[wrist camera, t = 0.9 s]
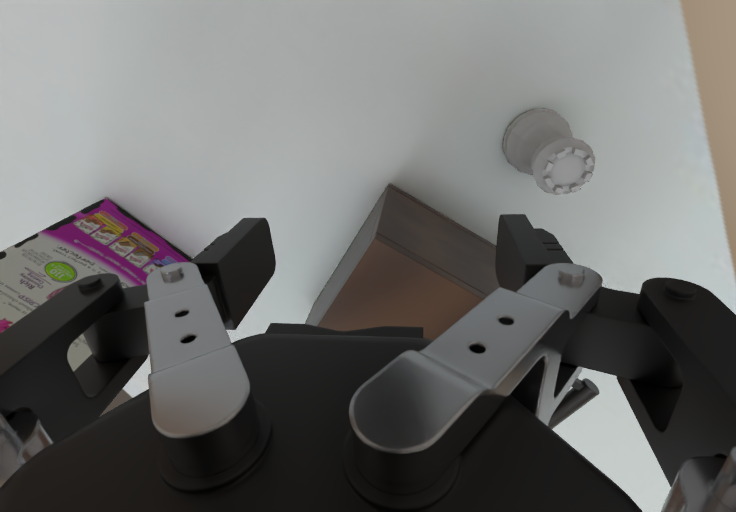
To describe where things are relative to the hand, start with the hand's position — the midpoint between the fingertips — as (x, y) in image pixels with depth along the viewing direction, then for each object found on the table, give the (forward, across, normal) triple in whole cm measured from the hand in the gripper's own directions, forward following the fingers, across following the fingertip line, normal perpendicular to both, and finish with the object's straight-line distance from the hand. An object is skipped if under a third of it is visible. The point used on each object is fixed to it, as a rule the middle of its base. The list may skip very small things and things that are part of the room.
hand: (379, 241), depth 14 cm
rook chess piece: (+18, -9, 0) cm, 21 cm away
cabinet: (+18, -1, +13) cm, 23 cm away
